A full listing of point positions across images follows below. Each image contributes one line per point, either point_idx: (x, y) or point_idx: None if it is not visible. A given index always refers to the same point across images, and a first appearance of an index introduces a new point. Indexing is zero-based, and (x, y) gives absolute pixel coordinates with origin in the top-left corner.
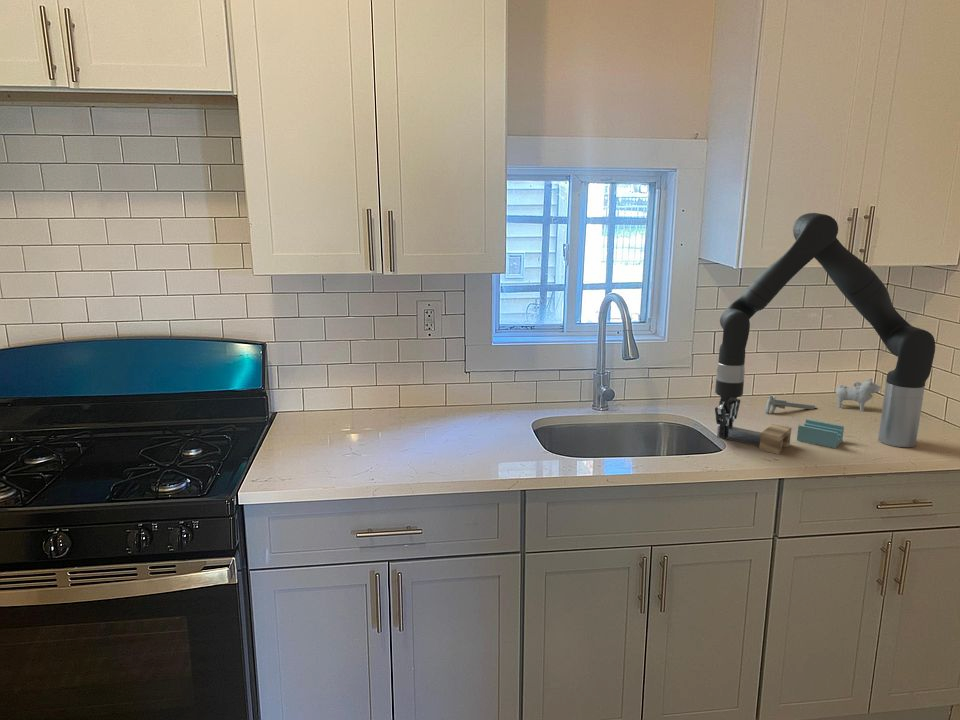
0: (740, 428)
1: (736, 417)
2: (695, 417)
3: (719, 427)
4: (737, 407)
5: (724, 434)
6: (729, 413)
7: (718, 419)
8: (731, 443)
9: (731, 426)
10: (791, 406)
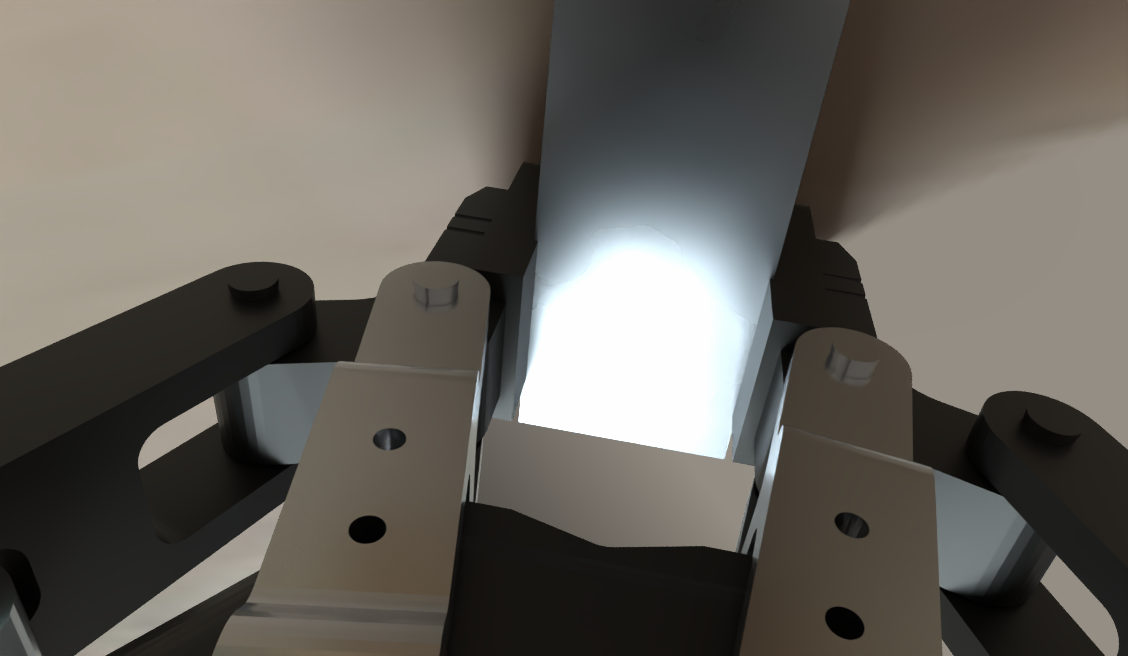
0: (571, 31)
1: (262, 274)
2: (128, 632)
3: (730, 427)
4: (11, 460)
5: (855, 269)
6: (932, 598)
7: (1039, 642)
8: (1031, 52)
9: (547, 246)
10: None
